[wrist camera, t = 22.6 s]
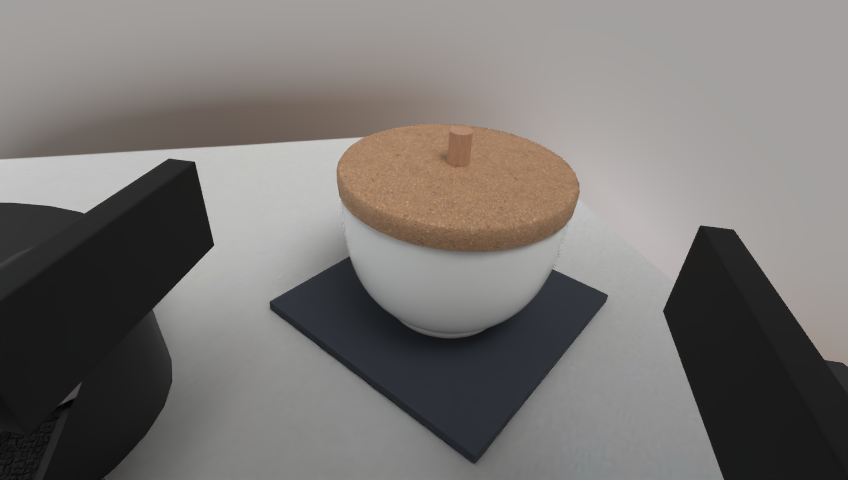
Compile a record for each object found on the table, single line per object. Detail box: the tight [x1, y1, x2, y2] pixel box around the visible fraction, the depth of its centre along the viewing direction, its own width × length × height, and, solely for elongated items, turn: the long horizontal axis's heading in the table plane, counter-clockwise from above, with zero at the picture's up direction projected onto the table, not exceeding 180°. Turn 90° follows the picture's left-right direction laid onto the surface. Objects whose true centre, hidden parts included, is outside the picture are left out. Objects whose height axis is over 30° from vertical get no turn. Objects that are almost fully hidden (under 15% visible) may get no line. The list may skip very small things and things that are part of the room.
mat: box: [270, 256, 608, 463], centre depth 26 cm, size 13×13×1 cm
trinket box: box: [337, 124, 579, 338], centre depth 23 cm, size 11×11×9 cm
